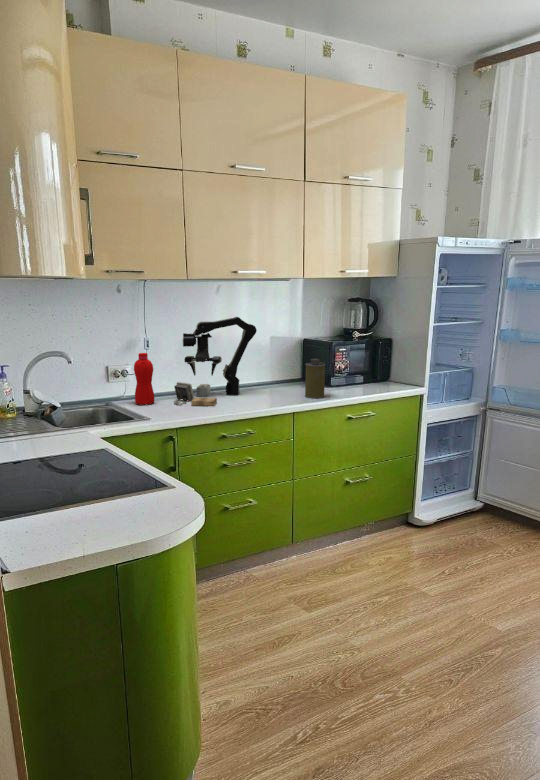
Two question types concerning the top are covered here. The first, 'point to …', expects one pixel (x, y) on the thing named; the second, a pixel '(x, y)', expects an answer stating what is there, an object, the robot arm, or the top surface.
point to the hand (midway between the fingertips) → (203, 375)
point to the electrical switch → (184, 391)
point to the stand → (203, 401)
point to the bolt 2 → (181, 402)
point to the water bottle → (144, 380)
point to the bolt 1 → (177, 403)
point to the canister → (315, 379)
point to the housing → (203, 390)
